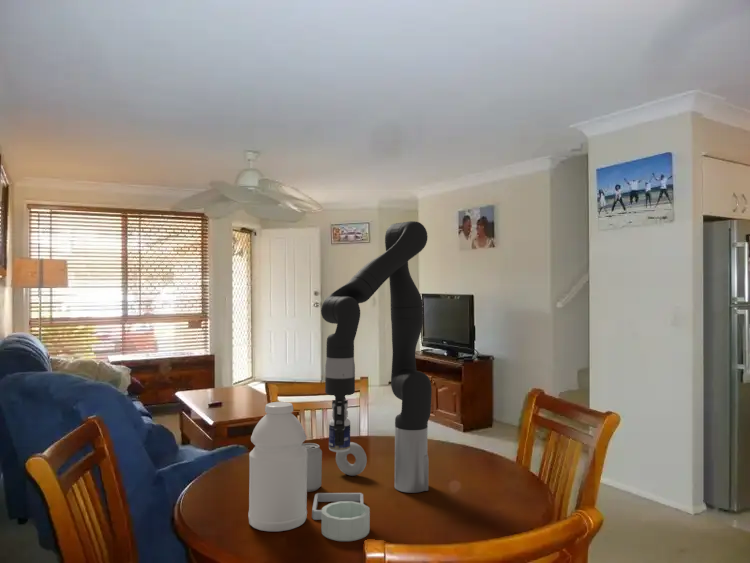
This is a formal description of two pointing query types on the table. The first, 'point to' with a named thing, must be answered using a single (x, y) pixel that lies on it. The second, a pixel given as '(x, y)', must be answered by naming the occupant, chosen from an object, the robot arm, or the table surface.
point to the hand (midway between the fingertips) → (339, 441)
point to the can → (313, 466)
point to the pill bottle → (346, 436)
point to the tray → (333, 498)
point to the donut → (359, 463)
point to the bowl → (345, 521)
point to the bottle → (278, 471)
